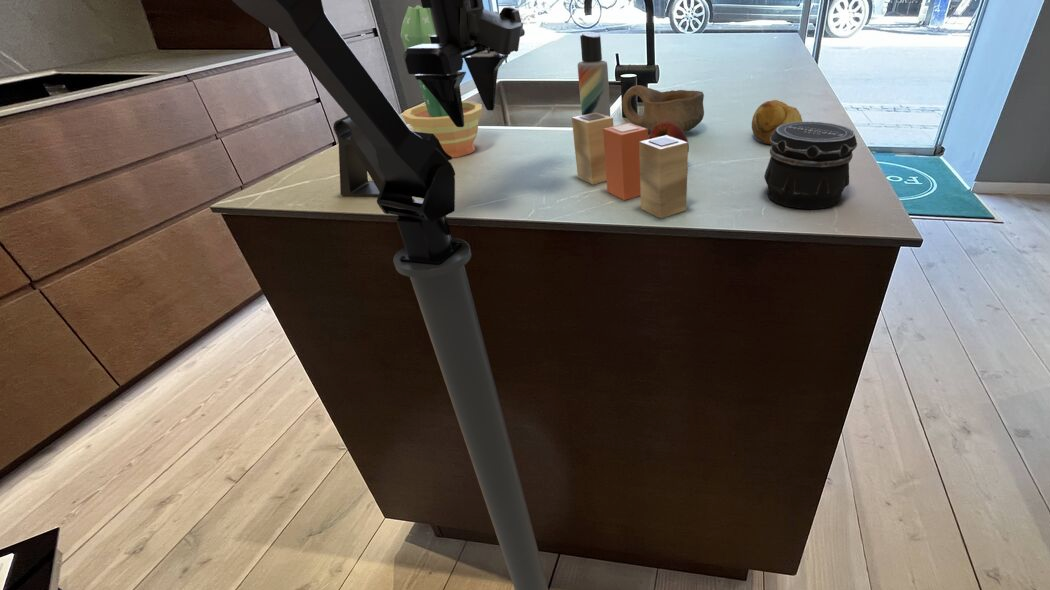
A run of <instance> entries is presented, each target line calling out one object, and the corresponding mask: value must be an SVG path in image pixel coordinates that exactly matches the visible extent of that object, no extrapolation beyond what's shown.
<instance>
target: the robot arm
mask: <svg viewBox="0 0 1050 590" xmlns="http://www.w3.org/2000/svg"><path fill="white" fill-rule="evenodd" d="M231 1H232V2H233V3H235V5H236V6H238V8H240V9H241V10H242V11H243V12H245V13H247V14H248V15H249V16H250V17H252V18H254V19H255V20H256V21H258V22H259V23H261V24H262V25H264V26H266V27H267V28H268V29H270V30H271V31H272V32H274V33H276V34H277V35H278V36H280V37H281V39H283V40H284V41H285V42H286V44H287V45H288V47H289V48H290V49H291V50H292V51H293V52H294V53H295V54H296V56H297V57H298V58H299V59H300V60H301V62H302V63H303V64H304V65H305V67H307V69H308V70H309V71H310V72H311V73H312V75H313V76H314V77H315V79H317V81H318V82H319V83H320V84H321V85H322V86H323V88H324V89H325V90H326V91H327V93H328V95H330V96H331V97H332V99H333V100H334V101H335V103H337V104H338V106H339V107H340V108H341V109H342V111H343V112H344V113H345V114H346V116H349V118H350V119H351V120H352V121H353V122H354V124H355V125H356V126H357V127H358V128H359V129H360V131H361V132H362V133H363V134H364V135H365V137H366V138H367V139H368V140H369V141H370V143H371V144H372V145H373V146H374V148H375V150H376V156H377V161H378V166H379V168H380V170H381V172H382V173H383V175H384V176H385V179H384V182H383V185H382V187H381V190H380V193H379V196H377V199H376V203H377V205H378V207H379V209H381V211H382V212H383V214H386V215H392V216H393V215H394V216H397V219H396V223H397V226H398V231H399V232H400V236H401V239H402V242H403V245H404V247H405V248H406V251H407V252H406V253H405V254H403V255H402V256H401V257H400V258H399V259H400V261H401V262H410V263H420V264H430V265H441V264H442V263H444V262H445V261H446V260H447V259H448V258H449V257H450V256H452V255H453V254H454V253H455V252H456V251H457V250H458V249H460V248H461V247H462V243H461V242H453V241H452V238H453V237H452V234H451V229H450V226H449V222H448V221H449V220H448V218H447V216H448V215H450V214H452V213H454V212H455V210H456V172H455V168H454V166H453V165H452V162H451V161H450V160H452V159H453V157H451V156H450V155H448V154H447V153H446V152H445V151H444V149H443V148H442V146H441V144H440V142H439V140H438V139H437V138H436V136H435V135H434V134H432V133H424V132H416V131H414V130H412V129H410V127H409V126H408V124H407V123H406V122H405V120H403V119H404V118H403V117H401V115H400V113H399V112H398V111H397V110H396V108H395V107H394V106H393V105H392V103H391V101H390V100H389V99H388V97H387V96H386V95H385V94H384V92H383V91H382V89H381V88H380V86H379V85H378V84H377V83H376V81H375V80H374V79H373V77H372V76H371V75H370V73H369V72H368V70H367V69H366V68H365V66H364V65H363V63H362V62H361V61H360V59H359V58H358V57H357V55H356V54H355V53H354V51H353V50H352V48H351V47H350V46H349V45H348V43H347V42H346V41H345V39H344V38H343V36H342V35H341V34H340V33H339V31H338V30H337V28H336V27H335V25H334V24H333V23H332V21H331V20H330V19H329V17H328V15H327V14H326V12H325V10H324V5H323V1H322V0H231ZM420 3H421V7H423V8H430V11H431V16H432V20H433V24H434V28H435V33H436V35H434V36H430V40H431V44H420V45H417V46H413V47H409V48H407V50H406V51H405V52H404V54H403V56H402V58H403V62H404V66H405V69H406V73H407V74H408V75H414V78H415V80H417V81H419V80H421V81H422V83H423V84H424V85H425V86H426V87H427V89H428V90H429V91H430V92H431V93H432V95H433V96H434V97H435V98H436V100H437V101H438V102H439V104H440V105H441V106H442V108H443V109H444V110H445V112H446V113H447V114H448V116H449V117H450V119H451V120H452V121H453V123H454V124H455V125H456V126H457V127H464V114H463V107H462V101H463V100H462V93H461V83H462V81H463V80H464V78H465V75H466V74H467V72H466V71H463V65H464V62H465V64H466V66H467V69H468V71H469V73H470V76H471V79H472V80H473V82H474V85H475V88H476V90H477V92H478V94H479V96H480V99H481V102H482V103H483V105H484V107H485V109H486V110H487V111H492V112H493V111H494V110H495V105H496V91H497V81H498V74H499V69H500V68H501V65H502V64H503V63H504V62H505V61H506V60H507V59H508V58H509V55H511V53H513V52H516V53H517V52H518V51H519V48H520V40H521V38H522V37H524V36H525V35H526V34H525V33H526V31H525V29H524V23H523V21H522V17H521V14H520V10H519V9H517V8H514V7H512V6H505V7H503V8H502V9H501V10H500V12H498V11H490V10H488V9H485V6H484V1H483V0H420ZM413 197H414V198H413ZM416 198H419V199H416ZM422 199H423V200H422Z"/></svg>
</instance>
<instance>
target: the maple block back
mask: <svg viewBox="0 0 1050 590" xmlns="http://www.w3.org/2000/svg"><path fill="white" fill-rule="evenodd" d="M571 124H572V125H571V126H572V135H573V143H574V144H573V145H574V151H575V152H574V155H575V163H576V174H577V178H578V179H580V180H582V181H584V182H585V183H588V184H590V185H592V186H593V185H596V184H601V183H604V182H607V180H606V166H605V151H604V136H603V128H608V127H612V126H614V117H612V116H610V117H609V116H606V115H603V114H600V113H597V112H596V113H591V114H586V115H582V114H581V115H578V116H572V117H571Z"/></svg>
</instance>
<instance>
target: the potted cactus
mask: <svg viewBox="0 0 1050 590" xmlns="http://www.w3.org/2000/svg"><path fill="white" fill-rule="evenodd" d="M400 30H401V31H400V39H401V42H402V46H403V48H404V51H405V52H406V50H407V48H409V47H413V46H417V45H420V44H431V40H430V36H434V35H436V33H435V28H434V24H433V20H432V16H431V11H430V8H423V7H422V5H419V4H417V5H415V7H412V6H409V5H408V6H407V10H406V12H405V15H404V18H403V20H402V24H401V28H400ZM418 83H419V84H418V85H419V87H420V90H421V93H422V97H423V101H424V103H425V104H420V105H415V106H413V107H410V108H408V109H405V110H404V111H403V113H402V115H401V116H402V119H404V120H403V121H404V122H405V124H406V125H410V126H411V128H412V131H416V132H424V133H432V134H434V135H435V136H436V138H437V139H438V140H439V142H440V144H441V146H442V148H443V149H444V151H445V152H446V153H447V154H448V155H450V156H451V157H452V158H459V157H463V156H467V155H470V154H471V153H473V152H475V151H476V148H475V147H476V146H475V144H474V142H475V140H476V137H477V135H478V130H479V121H480V119H481V118H482V117H483V116H482V115H483V107H482V106H483V105H482V103H478V102H475V101H469V100H468V101H467V100H462V107H463V114H464V127H457V126H456V125H455V124H454V123H453V121H452V120H451V119H450V117H449V116H448V114H447V113H446V112H445V110H444V109H443V108H442V106H441V105H440V104H439V102H438V101H437V100H436V98H435V97H434V96H433V95H432V93H431V92H430V91H429V90H428V89H427V87H426V86H425V85H424V84H423V83H422V81H421V80H418Z"/></svg>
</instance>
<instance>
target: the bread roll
mask: <svg viewBox="0 0 1050 590" xmlns="http://www.w3.org/2000/svg"><path fill="white" fill-rule="evenodd" d="M793 122H803V118H802V114H801V113H800V111H799V110H798V109H797V107H793V106H791V105H788V104H787V103H785V102H783V101H782V100H781V101H780V100H778V99H772V100H768V101H765V102H763V103H761V104H760V105H759V106H758V107H757V109H755V111H754V113H753V116H752V120H751V130H752V133H753V135H754V137H755V138H756V140H757V141H760V142H761V143H763V144H766V145H772V144H771V142H770V138H771V134H772V133H773V132H774V131H775V130H776V128H777V127H778V126H780V125H782V124H787V123H793Z"/></svg>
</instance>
